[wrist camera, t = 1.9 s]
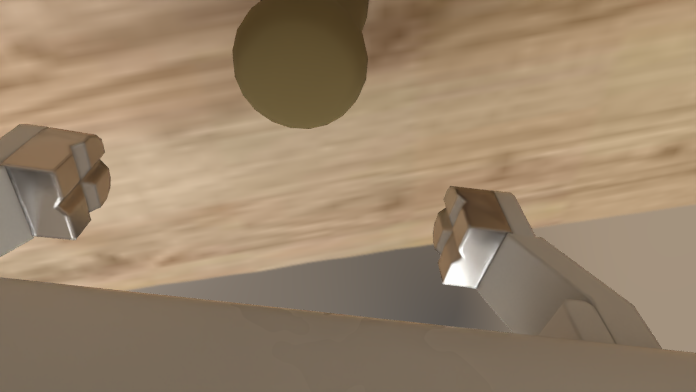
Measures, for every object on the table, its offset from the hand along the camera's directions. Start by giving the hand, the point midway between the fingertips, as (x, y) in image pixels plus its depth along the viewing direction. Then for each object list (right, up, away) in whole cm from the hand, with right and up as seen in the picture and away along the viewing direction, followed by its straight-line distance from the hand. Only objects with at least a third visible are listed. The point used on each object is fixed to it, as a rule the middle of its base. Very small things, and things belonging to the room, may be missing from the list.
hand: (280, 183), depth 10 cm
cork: (0, +11, +14) cm, 17 cm away
